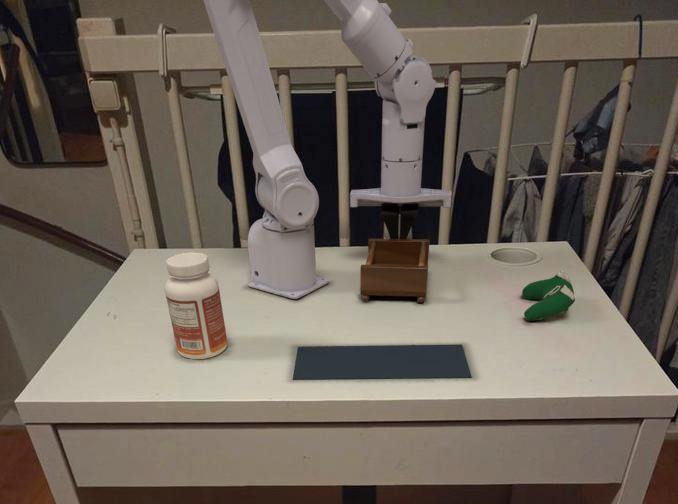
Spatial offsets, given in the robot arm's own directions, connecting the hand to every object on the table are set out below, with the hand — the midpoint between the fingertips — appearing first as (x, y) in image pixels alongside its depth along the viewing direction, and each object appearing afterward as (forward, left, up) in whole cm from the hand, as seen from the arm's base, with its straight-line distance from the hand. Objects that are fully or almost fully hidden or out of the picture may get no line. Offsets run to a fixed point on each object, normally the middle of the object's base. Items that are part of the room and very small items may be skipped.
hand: (398, 256), depth 95 cm
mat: (+15, -27, -2) cm, 31 cm away
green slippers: (+25, -3, -2) cm, 25 cm away
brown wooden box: (+4, -7, -2) cm, 8 cm away
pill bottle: (-5, -37, -2) cm, 37 cm away
